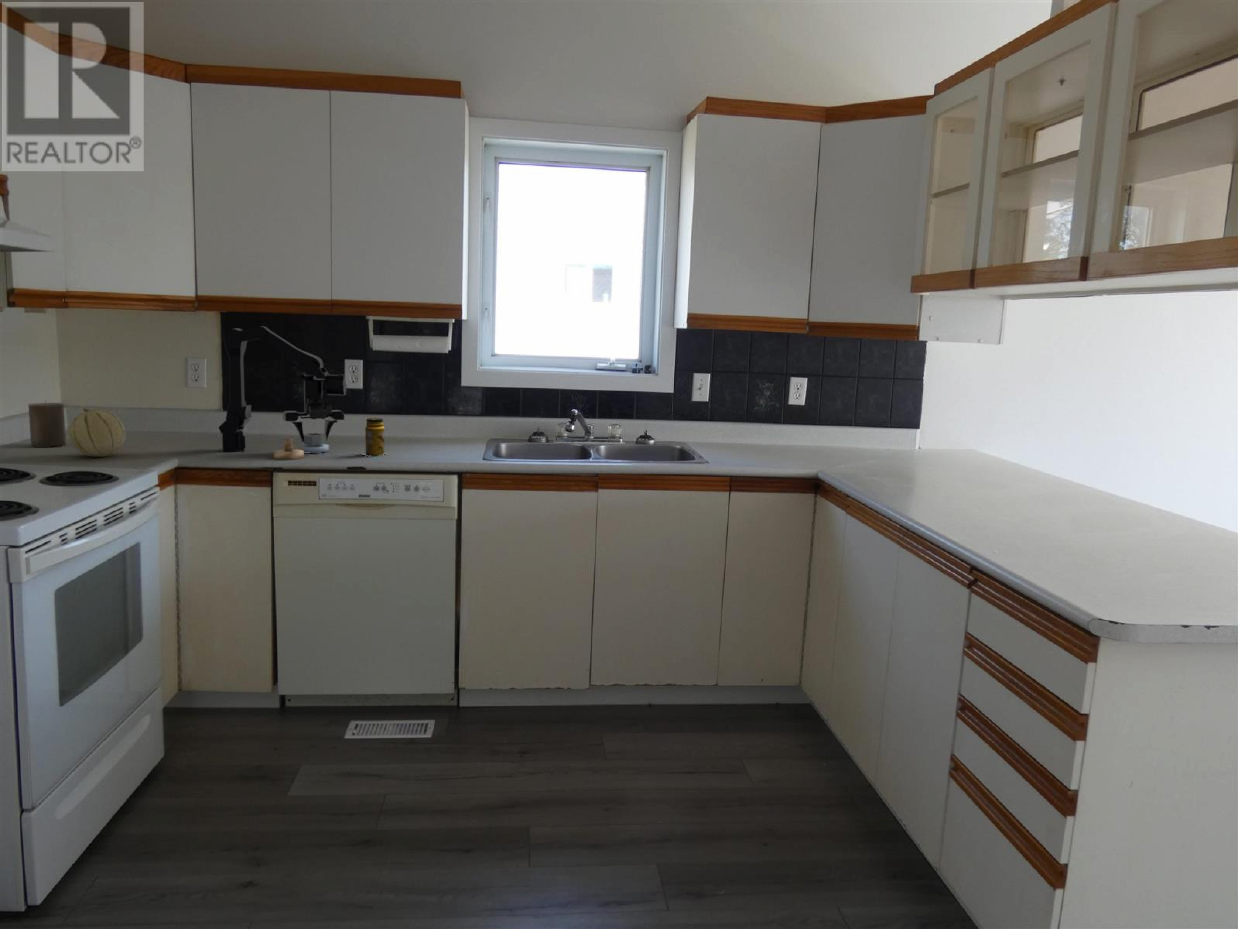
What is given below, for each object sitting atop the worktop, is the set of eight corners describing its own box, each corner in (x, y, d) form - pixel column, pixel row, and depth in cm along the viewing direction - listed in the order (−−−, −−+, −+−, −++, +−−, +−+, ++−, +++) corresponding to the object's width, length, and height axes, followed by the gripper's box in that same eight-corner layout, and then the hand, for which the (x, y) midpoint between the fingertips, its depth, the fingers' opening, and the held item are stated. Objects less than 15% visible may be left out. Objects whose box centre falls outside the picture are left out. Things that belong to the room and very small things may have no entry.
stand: (276, 460, 274) (275, 441, 273) (271, 456, 282) (270, 437, 281) (306, 458, 278) (306, 440, 277) (300, 454, 286) (300, 436, 285)
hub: (303, 454, 287) (303, 438, 287) (297, 450, 295) (297, 435, 294) (331, 452, 292) (331, 437, 291) (325, 448, 300) (325, 434, 299)
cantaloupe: (133, 457, 270) (130, 409, 267) (78, 462, 260) (75, 411, 257) (117, 451, 280) (115, 404, 278) (64, 455, 270) (61, 406, 267)
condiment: (389, 455, 292) (389, 419, 290) (366, 457, 286) (365, 420, 284) (378, 452, 297) (378, 416, 295) (355, 454, 291) (354, 418, 289)
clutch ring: (305, 445, 288) (305, 436, 288) (301, 442, 294) (301, 433, 294) (327, 444, 292) (327, 435, 291) (322, 441, 298) (322, 432, 297)
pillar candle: (64, 447, 285) (61, 400, 283) (28, 447, 281) (25, 401, 279) (67, 443, 294) (65, 398, 291) (33, 444, 289) (30, 398, 287)
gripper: (288, 397, 279) (289, 445, 281) (348, 396, 288) (348, 443, 291) (281, 394, 288) (283, 441, 291) (339, 393, 298) (340, 439, 300)
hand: (314, 441), depth 293 cm, fingers closed on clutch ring, 7 cm apart
